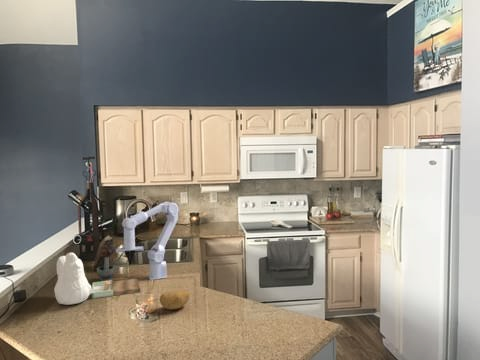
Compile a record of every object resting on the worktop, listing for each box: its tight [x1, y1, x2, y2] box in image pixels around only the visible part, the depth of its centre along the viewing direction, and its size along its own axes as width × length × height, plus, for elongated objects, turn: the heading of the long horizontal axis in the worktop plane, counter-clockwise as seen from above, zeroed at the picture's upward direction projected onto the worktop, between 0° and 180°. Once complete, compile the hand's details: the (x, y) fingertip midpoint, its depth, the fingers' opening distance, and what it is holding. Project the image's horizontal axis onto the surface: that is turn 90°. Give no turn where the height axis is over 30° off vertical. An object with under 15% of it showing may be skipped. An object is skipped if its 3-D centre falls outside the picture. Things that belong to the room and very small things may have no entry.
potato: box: [159, 289, 191, 311], centre depth 173 cm, size 10×14×8 cm
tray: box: [91, 279, 115, 300], centre depth 197 cm, size 10×17×3 cm, turn 20°
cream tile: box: [94, 286, 103, 292], centre depth 196 cm, size 4×4×2 cm
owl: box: [92, 234, 116, 270], centre depth 237 cm, size 13×13×20 cm
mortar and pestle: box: [96, 257, 116, 282], centre depth 217 cm, size 11×9×12 cm
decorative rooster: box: [53, 251, 92, 306], centre depth 186 cm, size 25×16×25 cm, turn 34°
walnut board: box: [112, 278, 141, 297], centre depth 201 cm, size 13×17×2 cm
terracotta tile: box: [104, 281, 110, 291], centre depth 196 cm, size 4×4×2 cm
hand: (130, 264), depth 209 cm, fingers closed
